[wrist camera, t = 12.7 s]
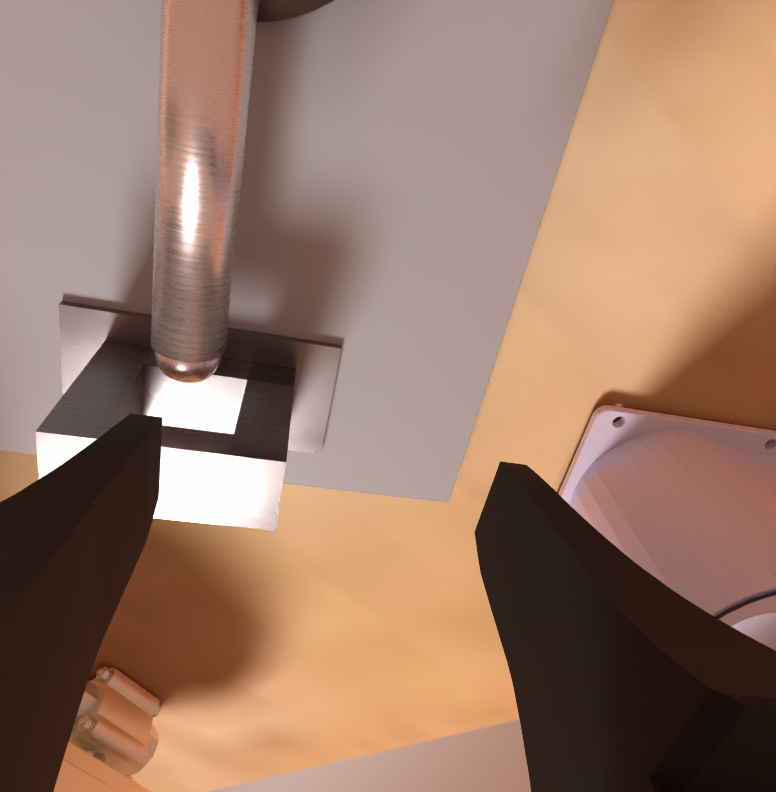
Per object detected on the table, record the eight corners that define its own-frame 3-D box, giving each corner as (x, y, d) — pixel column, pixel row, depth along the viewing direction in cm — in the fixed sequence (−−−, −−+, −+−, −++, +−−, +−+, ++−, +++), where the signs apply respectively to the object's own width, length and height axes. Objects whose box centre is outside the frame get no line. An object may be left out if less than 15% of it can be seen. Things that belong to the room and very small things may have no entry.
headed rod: (312, -233, 13) (309, -305, 10) (245, 364, 19) (232, 414, 17) (162, -281, 12) (117, -370, 10) (146, 349, 19) (116, 398, 16)
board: (694, -305, 15) (721, -332, 14) (443, 484, 26) (448, 502, 25) (-150, -629, 12) (-197, -696, 11) (-20, 428, 23) (-36, 446, 22)
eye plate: (341, 344, 21) (344, 438, 16) (320, 449, 23) (318, 561, 18) (61, 300, 19) (-32, 388, 14) (66, 417, 22) (-13, 529, 17)
